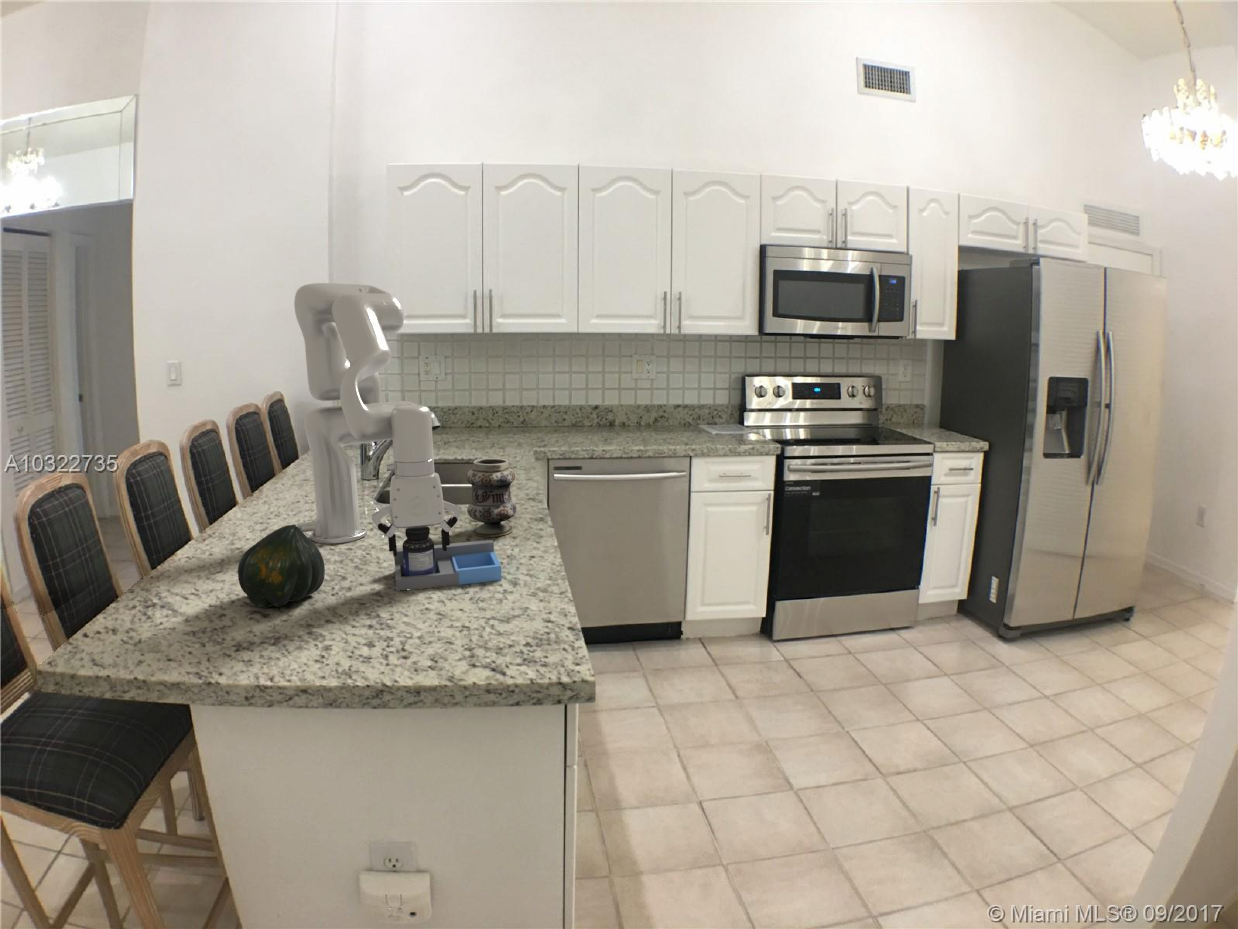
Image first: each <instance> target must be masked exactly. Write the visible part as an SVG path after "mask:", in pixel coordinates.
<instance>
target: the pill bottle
mask: <svg viewBox="0 0 1238 929" xmlns="http://www.w3.org/2000/svg"><path fill="white" fill-rule="evenodd" d="M404 532H405V537H406V539H404V541H403V543H402V548H403V560H404V576H403V577H407V576H417V575H427V574H436V572H435V554H434V545H435V541H434V540H433V538H431V537H430V533H431V530H430V526H422V527H411V528H405V531H404Z"/></svg>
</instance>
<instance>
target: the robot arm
mask: <svg viewBox="0 0 1238 929" xmlns="http://www.w3.org/2000/svg"><path fill="white" fill-rule="evenodd" d="M293 304H294V305H293V306H294V313H295V316H296V320H297V321H296V322H297V323H298V325H299V328H300V331H301V333H302V337H303V340H304V345H305V346H304V350H305V361H306V373H307V384H308V390H309V393H310V395H311V396H312V398H313V399H315V400H318V401H321V402H331V401H333V402H334V401H339V402H340V405H333V406H332V405H330V406H322V407H318V408H314V409H312V410H311V411H309V412H308V413H307V414H306V416H305V418H304V421H303V422H304V423H303V424H304V425H303V426H304V432H305V435H306V440H307V444H308V446H309V447H308V448H309V452H310V453H309V454H310V458H311V467H312V476H313V479H312V480H313V487H314V488H313V490H314V501H315V513H316V518H315V519H314V520H311V521H308V522H306V521H304V522H303V521H302V522H297V524H296V526H297V527H298V528H299V529H300V530H301V531H302V532H303V533H307V532H311V534H310V536H311V537H310V538H311V539H310V540H311V541H312V542H315V543H320V544H325V545H327V544H328V545H329V544H343V543H349V542H354V541H357V540H360V539H362V538H364V537H365V536H366V535H367V534H368V530H367V529H368V528H366V527H365V526H364V525H360V510H359V497H358V496H359V495H358V485H357V483H358V481H357V470H356V463H355V462H354V459H353V458H352V456H351V455H349V453H347V452H346V450H345V449H344V447H347V446H351V445H352V446H353V445H359V444H368V443H374V442H380V441H381V442H382V441H389V440H392V449H393V450H392V451H393V461H392V462H391V463H390V464H386V472H392V473H393V474H394V475H392V476H391V478H390V484H389V485H390V486H389V487H390V488H389V504H388V505H386V506H385V507H383V508H381V509H380V510H378V511H376V512H375V513H373V514H372V515H371V520H372V522H373V523H374V525H375V526H376V527H377V529H378V530H379V531H380V532H382V533H383V534H384V535H386V537H387V539H388V549H389V550H388V551H389V552H391V553H392V555H393V557H394V556H397V549H398V548H397V537H396V532H397V531H398V529H406V528H411V527H422V526H428V527H430V526H431V527H432V526H438V525H439V527H440V528H441V530H440V532H441V535H440V536H441V537H440V538H441V545H442V548H443V551H447V546H449V545H450V544H451V542H450V541H451V540H450V531H451V529H453V527H454V526H455V525H456V524H457V523H458V520H459V518H460V516H461V514H462V512H463V509H462V507H461V506H458V505H457V504H454V503H452V502H449V501H446V500H444V496H443V488H442V482H441V478H440V475H439V473H437V472H435V458H434V455H435V454H434V442H433V441H434V440H433V425H432V412H431V409H430V408H429V407H428V406H426V405H422V404H421V405H419V404H416V403H414V402H412V401H409V400H408V401H407V400H400V401H399V400H398V401H385V402H382V388H381V385H382V384H381V378H380V374H379V372H381V371H382V370H383V369H385V368H386V367H387V366H388V365H389V364H391V361H392V351H391V349H390V346H389V344H388V341H387V339H386V337H385V334H395V333H397V332H399V331H400V330H401V329H402V328H403V325H404V320H405V316H404V310H403V307H402V305H401V303H400V301H399V299H397V298H396V297H395V296H394V295H393V294H392V293H389V292H388V291H385V290H383V289H380V288H378V287H376V286H374V285H371V284H361V283H360V284H356V283H354V284H353V283H338V282H337V283H336V282H335V283H334V282H331V283H330V282H315V283H314V282H313V283H309V284H304V285H302V286H300V287H299V288H298V289H297V290H296V293H295V295H294V302H293ZM445 509H446V510H449V511H451V512H452V515H451V517H450V518H448V520H446V519H445ZM388 514H390V521H391V522H390V524H389V526H388V525H387V524H385V522H383V521H382V518H384V517H386V516H387V515H388Z"/></svg>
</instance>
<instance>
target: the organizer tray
mask: <svg viewBox="0 0 1238 929" xmlns="http://www.w3.org/2000/svg"><path fill="white" fill-rule="evenodd" d="M434 554H435V574H427V575H417V576H407V577H404V576H401V575H404V560H403V547H401V548H400V547H399V548H397V556H394V559H393V561H394V571H395V573H394V574H395V588H396V592H397V591H398V592H401V591H400V590H407V589H416V590H423V588H425V589H431V587H434V588H439V587H438V586H443V587H448V586H447V585H452V586H460V585H469V584H477V583H486V582H487V583H489V582H495V581H502V579H503V578H502V565H501V562H500V561H499V558H498V556H497V554H496V552H495V543H494V541H493V539H487V540H476V541H475V540H474V541H467V542H466V541H465V542H454V543H453V542H452V543H450V545H449V546H447V551H443V548H442V544H434ZM407 591H408V590H407Z"/></svg>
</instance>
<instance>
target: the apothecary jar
mask: <svg viewBox="0 0 1238 929" xmlns="http://www.w3.org/2000/svg"><path fill="white" fill-rule="evenodd" d="M515 479H516V474H515V472H514V470H513V469H512V468H510V465H509V461H508V460H507V459H504V458H498V457H497V458H493V457H491V458H490V457H487V458H486V457H485V458H478V459H475V460H474V461H473V466H472V468H471V469H470V470H469V471H468V472H467V474H466V481H467V483H469V485H471V502H470V503H469V504H468V506H467V507H466V508H467V509H466V513H467V515H468V516H469V517H470V518H471V519H472V520H474V521H476V522H479V523H482V524H479V526H477V527H475V528H474V529H473V530H472V534H473V535H474V534H475V536H477V537H483V538H494V537H495V538H496V537H503V536H506V535H510V534H511V533H512V532H513V531H514V530H513V527H512V526H511V525H509V524H506V523H503V522H505V521H508V520H509V519H512V518H513V517H514V515H515V514H516V513H517V505H516V503H515V502H514V501H513V500H512V490H511V489H512V488H511V487H512V485H511V484H513V483H514V481H515Z"/></svg>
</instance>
